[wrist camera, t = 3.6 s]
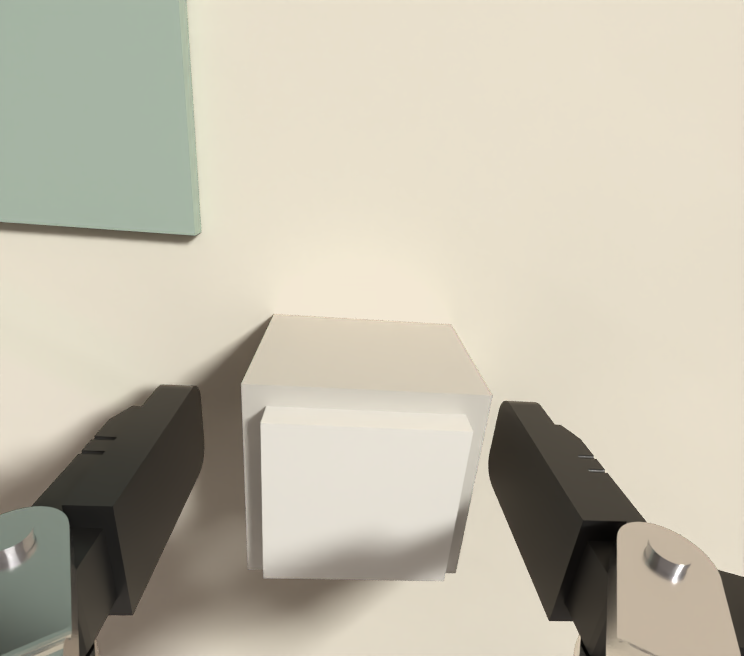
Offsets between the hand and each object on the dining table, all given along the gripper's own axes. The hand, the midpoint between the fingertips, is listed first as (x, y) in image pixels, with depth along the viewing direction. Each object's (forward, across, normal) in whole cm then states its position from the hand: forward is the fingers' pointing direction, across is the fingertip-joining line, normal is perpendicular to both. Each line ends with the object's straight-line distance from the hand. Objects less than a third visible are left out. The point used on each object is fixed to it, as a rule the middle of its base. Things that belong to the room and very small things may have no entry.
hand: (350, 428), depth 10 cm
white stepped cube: (+1, 0, 0) cm, 1 cm away
